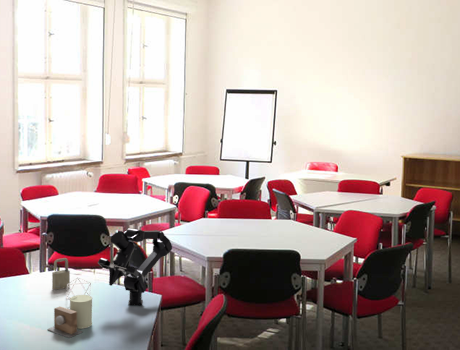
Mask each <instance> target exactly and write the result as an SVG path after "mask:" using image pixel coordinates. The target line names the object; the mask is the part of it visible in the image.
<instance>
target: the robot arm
mask: <svg viewBox="0 0 460 350" xmlns="http://www.w3.org/2000/svg"><path fill="white" fill-rule="evenodd" d="M144 240H152V245H153V246H152V252H151V253H150V254H149V255H148V256H147V257H146V259H145V260H144V261H143V262H142V264H141V265H140V266H138V268H136V267H133V266H131V264H130V263H131V257H132V254H133V253H134V250H136V251H137V250H138V246H137V243H141V242H143V241H144ZM135 242H136V243H135ZM110 243H111V244H113V245H114V246H115V248H117V249H118V250H119V251H117V252H116V258H115V259H113V261H112V262H111V261H109V259H106V258H103V257H101V258H99V259H98V261H97V264H98V265H99V266H100V267H101V268H102V269H106V270H109V278H108V279H109V281H108V282H109V284H108V286H113V285H114V284H115V283H116V282H117V281H118V280H119V279H120V278H122V277H125V278H124V280H123V285H124V289H125V291H128V292H129V294H128V295H129V300H128V304H127V306H143V303H144V302H143V299H142V298H143V293H145V292H146V291H147V285H146V284H145V277H146V276H147V275H148V274H149V273H150V271H151V270H152V269H153V268H154V267H155V265H156V264H157V263H158V261H159V260H161V258H163V257H166V256H167V255H169V254H170V253H171V252H172V249H173V244H172V243H171V241H170V239H169V238H168V237H167V236H166V235H165V233H164V232H163V231H162V230H156V229H154V230H141V229H136V228H131V227H130V228H127V229H126V231H123V230H118V231H117V232H114V234H113V235H112V236H111V237H110Z"/></svg>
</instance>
